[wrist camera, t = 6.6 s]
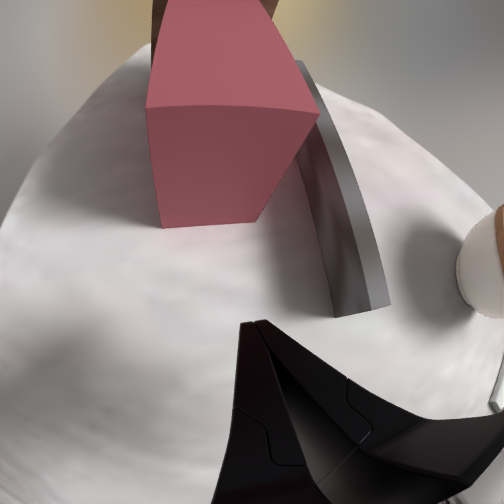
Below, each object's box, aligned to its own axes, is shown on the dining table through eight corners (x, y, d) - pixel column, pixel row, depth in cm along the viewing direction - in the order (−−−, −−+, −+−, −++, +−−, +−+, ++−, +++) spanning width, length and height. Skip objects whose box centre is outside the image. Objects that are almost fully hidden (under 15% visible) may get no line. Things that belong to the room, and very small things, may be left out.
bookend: (353, 313, 17) (513, 266, 6) (152, 346, 14) (55, 363, 3) (283, 79, 24) (326, -15, 13) (153, 75, 20) (159, -36, 9)
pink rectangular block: (255, 222, 18) (320, 114, 9) (162, 229, 16) (145, 108, 7) (230, 87, 22) (255, -5, 13) (165, 87, 20) (171, -10, 11)
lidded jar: (438, 310, 20) (525, 285, 11) (443, 213, 24) (506, 173, 15) (486, 337, 20) (552, 323, 12) (488, 255, 24) (543, 229, 16)
